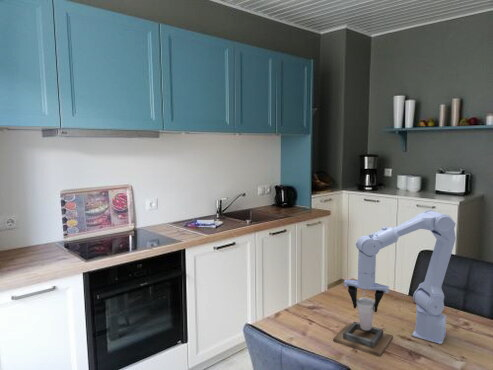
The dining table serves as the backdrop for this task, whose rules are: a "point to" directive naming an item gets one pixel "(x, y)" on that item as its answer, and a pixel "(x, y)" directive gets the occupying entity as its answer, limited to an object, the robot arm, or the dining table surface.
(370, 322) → the smoothie
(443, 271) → the robot arm
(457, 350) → the dining table surface
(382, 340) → the bottle stand
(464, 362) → the dining table surface
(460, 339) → the dining table surface
